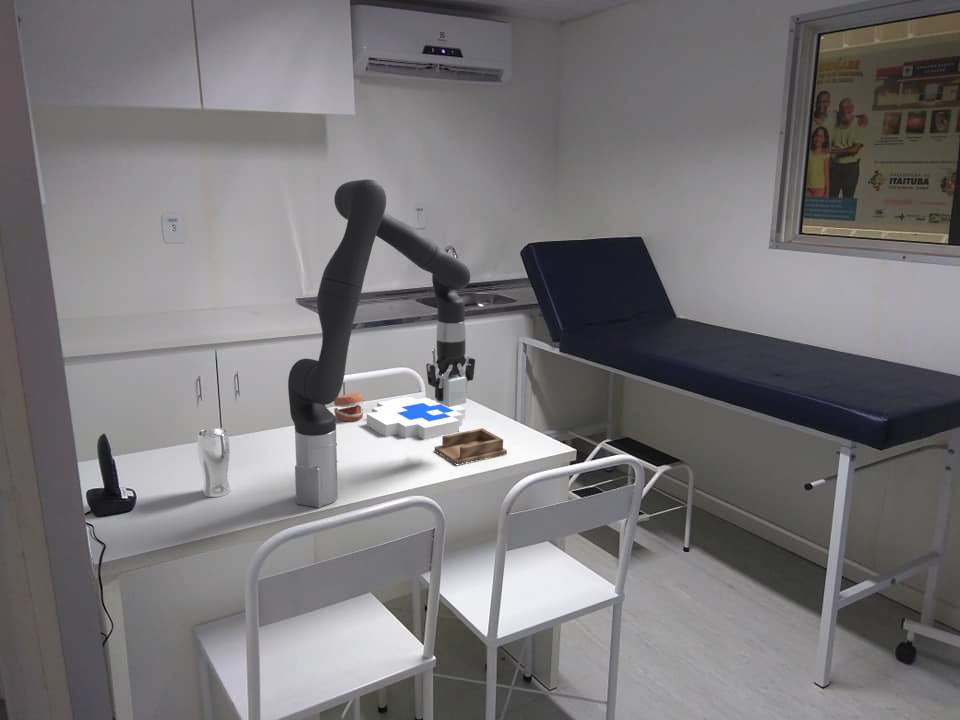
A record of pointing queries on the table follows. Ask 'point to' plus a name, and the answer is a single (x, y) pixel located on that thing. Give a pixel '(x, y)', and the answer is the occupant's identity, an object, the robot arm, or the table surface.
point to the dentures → (349, 412)
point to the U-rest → (471, 446)
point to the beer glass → (214, 460)
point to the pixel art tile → (415, 418)
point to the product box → (453, 391)
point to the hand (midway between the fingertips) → (450, 398)
